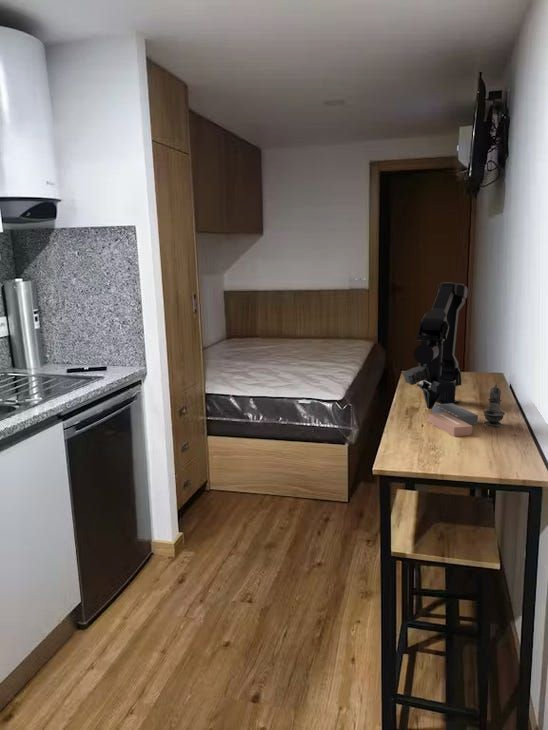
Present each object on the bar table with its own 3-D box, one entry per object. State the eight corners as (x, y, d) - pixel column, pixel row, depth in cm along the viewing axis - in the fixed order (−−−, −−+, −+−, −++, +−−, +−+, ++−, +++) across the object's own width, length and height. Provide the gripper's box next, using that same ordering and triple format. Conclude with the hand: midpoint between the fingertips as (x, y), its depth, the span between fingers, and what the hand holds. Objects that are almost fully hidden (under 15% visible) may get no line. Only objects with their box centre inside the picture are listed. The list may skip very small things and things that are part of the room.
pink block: (428, 421, 166) (428, 413, 166) (445, 420, 168) (445, 411, 167) (453, 436, 153) (454, 427, 153) (472, 434, 154) (472, 425, 154)
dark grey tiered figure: (502, 422, 166) (505, 382, 163) (505, 428, 160) (508, 387, 158) (481, 420, 167) (484, 381, 165) (483, 426, 162) (486, 386, 159)
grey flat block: (431, 412, 176) (432, 404, 176) (452, 410, 178) (452, 403, 177) (456, 425, 163) (456, 416, 162) (477, 423, 164) (478, 415, 164)
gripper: (393, 354, 175) (391, 402, 178) (422, 365, 157) (420, 419, 160) (426, 352, 178) (423, 400, 181) (458, 363, 160) (455, 416, 163)
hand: (429, 408), depth 171 cm, fingers closed
